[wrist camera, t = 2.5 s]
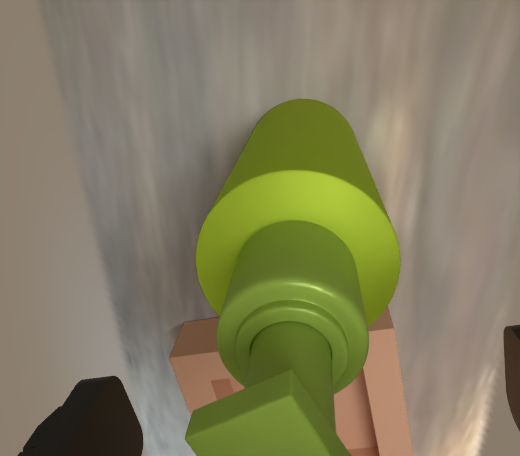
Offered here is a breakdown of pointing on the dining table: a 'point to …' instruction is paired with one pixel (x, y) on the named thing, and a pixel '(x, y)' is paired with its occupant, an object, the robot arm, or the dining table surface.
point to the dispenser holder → (345, 401)
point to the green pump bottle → (292, 283)
